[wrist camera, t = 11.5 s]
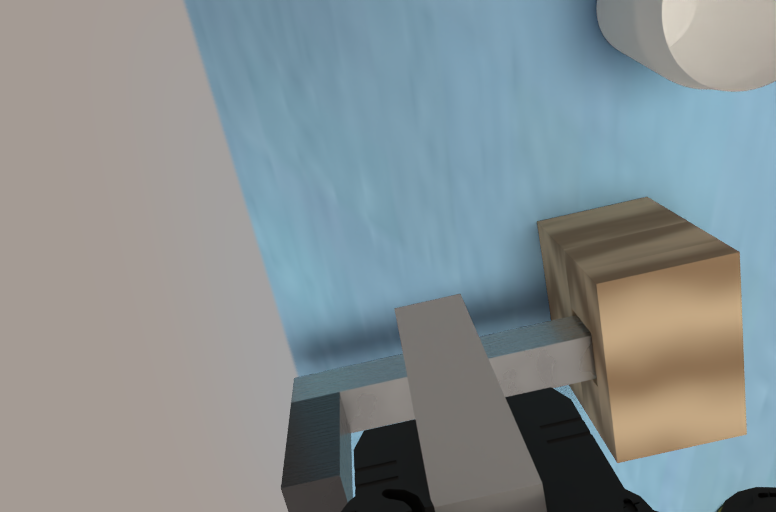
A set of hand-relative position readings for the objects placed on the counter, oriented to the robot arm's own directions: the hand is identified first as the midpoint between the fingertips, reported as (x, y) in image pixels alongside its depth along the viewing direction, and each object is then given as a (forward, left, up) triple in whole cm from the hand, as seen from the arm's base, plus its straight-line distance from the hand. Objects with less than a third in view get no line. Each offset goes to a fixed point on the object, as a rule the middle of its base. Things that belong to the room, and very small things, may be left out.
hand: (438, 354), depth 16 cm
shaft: (+15, +4, -26) cm, 30 cm away
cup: (-4, +19, -33) cm, 38 cm away
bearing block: (+15, +14, -32) cm, 38 cm away
